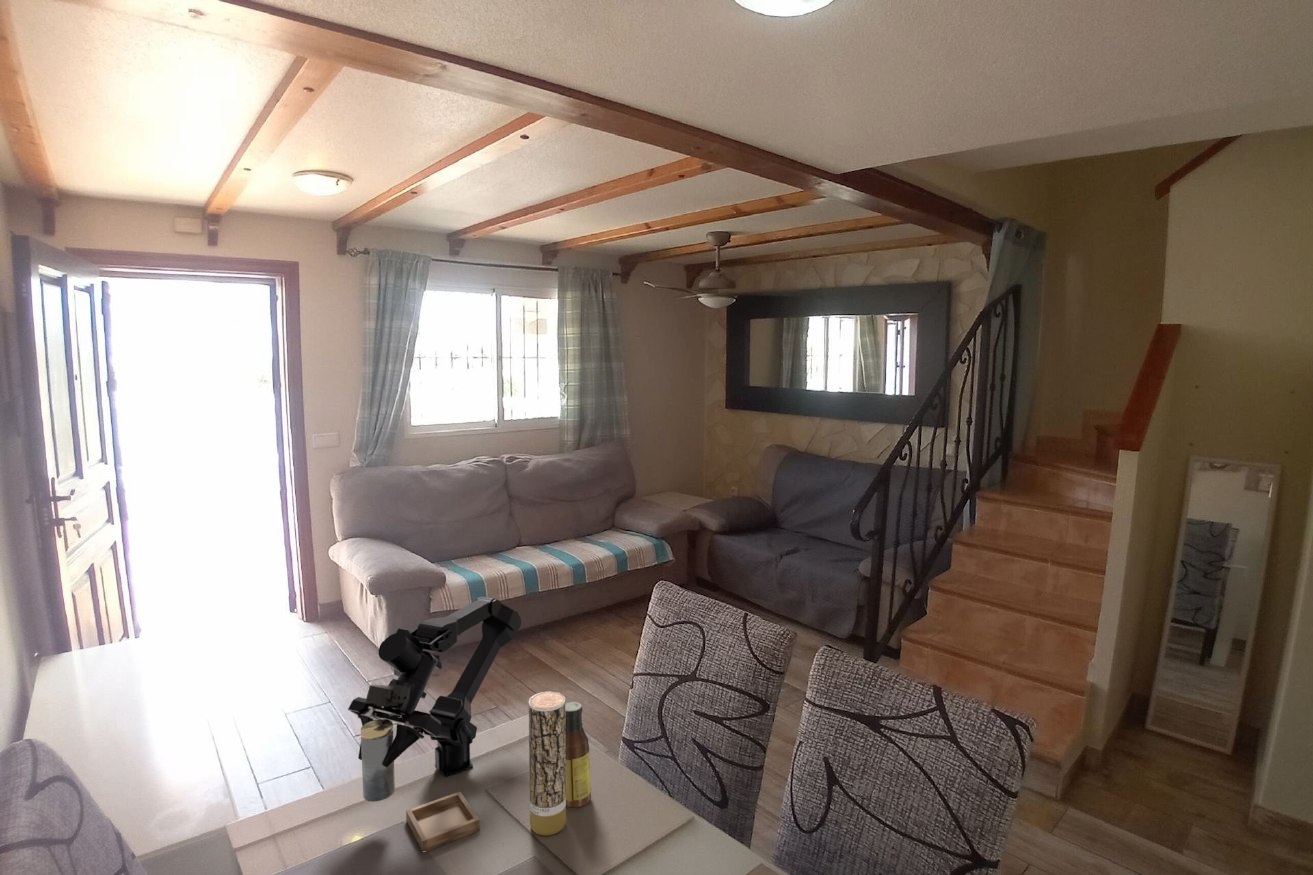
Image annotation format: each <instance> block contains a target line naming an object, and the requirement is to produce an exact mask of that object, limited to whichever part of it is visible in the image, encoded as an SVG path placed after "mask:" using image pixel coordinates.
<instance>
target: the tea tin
mask: <svg viewBox="0 0 1313 875" xmlns="http://www.w3.org/2000/svg"><path fill="white" fill-rule="evenodd" d="M393 741H394V722H393V721H390V720H387V719H382V718H381V719H379V720H374V721H370V722H368V723H366V724H365V725H363V726H361V728H360V744H361V753H362V760H361V767H362V768H361V772H362V774H361V776H362V795H363V796H362V798H363V799H364V800H365V801H367V802H371V803H373V802H380V801H383V800H386V799H388V798H390V797H391V796H392V795H394V793H395V791H396V778H395V777H396V776H395V774H396V773H395V772H396V771H395V760H394V761H393V762H392V763H391V764H390V765H389V766H388V767H385V766H383V763H384V761H385V758H386V755H387V753H388V751H389V749H390V747H391V745H392V743H393Z"/></svg>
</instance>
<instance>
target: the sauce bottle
mask: <svg viewBox="0 0 1313 875" xmlns="http://www.w3.org/2000/svg"><path fill="white" fill-rule="evenodd" d="M582 713H583V706H582V704H581V703H580V702H578V701H570V702H565V732H566V807H570V808H572V809H573V808H575V809H576V808H580V807H584V806H585V805H587V804H588V803H589V802H590V801H591V797H592V795H591V794H592V778H591V775H592V774H591V758H590V744H589V738H588V736H587V734H586V732H585V730H584V727H583V719H582V717H583V716H582Z"/></svg>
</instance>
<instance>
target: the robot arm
mask: <svg viewBox="0 0 1313 875" xmlns="http://www.w3.org/2000/svg"><path fill="white" fill-rule="evenodd" d="M480 623H482V624H481V627H480V629H481V638H480V641H479V642H478V644H477V646H476V648H475V649H474V651H473V653H472V655H471V657H470V658H469V660H468V663H467V664H466V666H465V667H464V669H463V672H462V673H461V675H460V677H459V679H458V680H457V682H456V684H455V686H454V687H453V690H452V691H451V692H450V693H449V694H448V695H446V696H444V695H439V696H438V697H437V698H436V701H435V702H434V704H433V706H432V708H431V709H430V710H429V711H428V712H425V711H420V710H417V709H416V708H417V706H418V704H419V701H420V700H421V699H425V698H426V697H427V693H426V692H425V689H426V688H427V685H428V683H429V680H430V678H431V676H432V674H433V672H434V670H435V669H437V670H441V669H442V668H443V666H442V661H441V656H440V655H439V654H433V653H431V652H429V651H432V652H438V653H446V652H447V651H449V650H450V649H451V648H452V647H453V646H454V645H455V644H456V643H458V639H459V636H461V635H462V634H463V633H465V632H466V631H468V630H471V629H472V628H473V627H475V626H476V625H478V624H480ZM521 625H522V618H521V616H520V615H519V612H518V611H517V610H514V609H512V608H511V607H509V606H507V605H506V604H504V603H502V602H501V601H500V599H499V600H498V599H497V598H495V597H488V596H480V597H477V598H476V599H475V601H472V602H471V603H469V604H467V605H465V606H464V607H462V608H460V609H458V610H455V611H454V612H452V613H451V614H448V615H447V616H441V617H431V618H429V619H426V620H423V621H421V622H420V623H419V624H418V625H417V627H415V628H414V629H412V630H411V631H409V630H408V628H397V631H396V632H395V633H393V634H391V635H389V636H388V637H386V638H385V639H384V640H383V641H382V642H381V643H380V646H379V648H378V656H379V658H380V659H381V660H382V661H383V662H384V663H386V664H387V665H388V666H390V667H391V668H393V669H394V670H395V671H397V672H399V676H398V677H397V679H395V678H392V680H390V682H389V683H388V684H387V685H383V684H380V685H379V684H370V685H369V687H368V690H367V694H366V698H364V697H360V696H357V697H356V698H354V699H352V701H351V703H350V705H349V706H348V708H347V710H348V711H349V712H351V713H353V714H355V715H356V716H357V718H358V719H359V720H360V722H361V725H362V726H363V725H365V724H366V723H368V722H370V721H374V720H379V719H387V720H390V721H392V722H393V723H394V722H395V723H396V731H395V732H396V733H395V737H394V738H393V743H392V745H391V747H390V749H389V751H388V753H387V755H386V758H385V761H384V763H383V766H385V767H388V766H389V765H390V764H391V763H392V762H393V761H394V762H395V761H396V760H397V759H398V758H399V757H400V756H401V755H402V754H403V753H404V752H406V750H408V749H409V748H410V747H411V746H412V745H413V744H414V743H416V742H417V741H418V740H423V739H424V738H425V736H424V735H426V736H428V737H430V739H431V740H432V741H436V746H435V748H434V762H435V763H434V764H435V767H436V768H437V770H438V771H440V773H441V774H442V776H443V777H448V776H452V775H453V774H457V773H459V772H462V771H465V770H468V769H471V768H473V767H474V764H473V762H472V761H471V744H473V741H474V739H475V738H476V737H477V732H478V727H477V726H476V725H475V724H473V723H472V722H471V720H472V703H473V700H474V698H475V696H476V695H477V693H478V691H479V689H480V687H481V685H482V683H483V682H484V679H485V678H486V676H487V674H488V673H489V670H490V668H491V666H492V665H493V662H494V661H495V658H496V657H497V655H498V653H499V651H500V649H501V648H502V647H503V646H505V645H507V644H508V643H510V642H512V640H513V639H514V637H515V635H517V633H518V632H519V630H520V628H521ZM362 726H361V727H362ZM431 740H430V741H431ZM357 759H358V760H360V761H362V753H361V743H360V745H359V752H358V758H357Z"/></svg>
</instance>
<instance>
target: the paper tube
mask: <svg viewBox="0 0 1313 875" xmlns="http://www.w3.org/2000/svg"><path fill="white" fill-rule="evenodd" d="M565 704H566V697H565V696H564V695H563V694H562V693H560V692H558V691H557V692H556V691H542V692H538V693H536V694H534V695H532V696H531V697H529V700H528V746H529V747H528V756H529V757H528V758H529V759H528V761H529V766H528V767H529V822H530V823H529V825H530V826H529V827H530V828H531V830H532V831H533V832H534V833H535V834H537V835H540V836H552V835H556V834H558V833H559V832H561V830H563V828H564V827H565V825H566V821H567V806H566V732H565Z"/></svg>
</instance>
